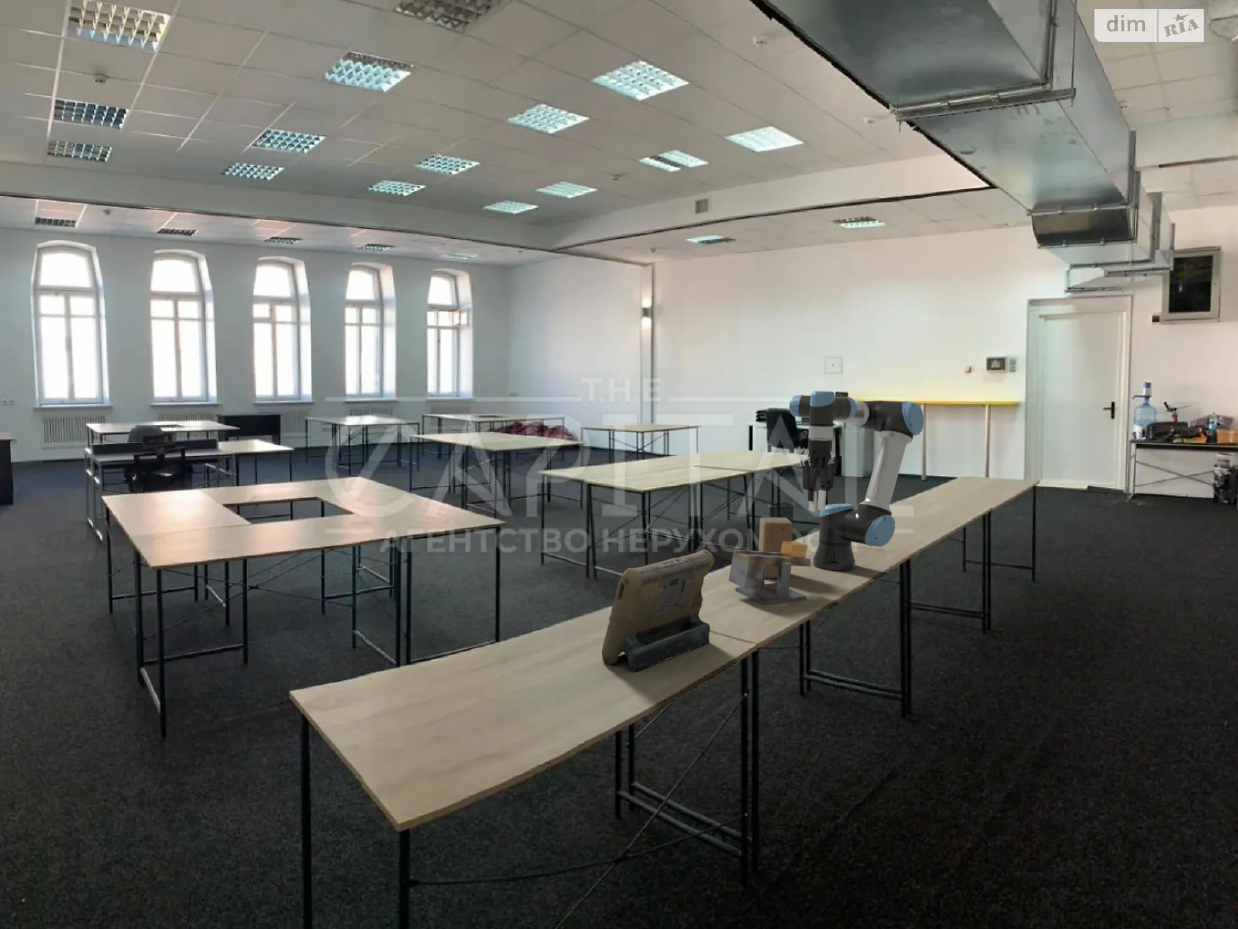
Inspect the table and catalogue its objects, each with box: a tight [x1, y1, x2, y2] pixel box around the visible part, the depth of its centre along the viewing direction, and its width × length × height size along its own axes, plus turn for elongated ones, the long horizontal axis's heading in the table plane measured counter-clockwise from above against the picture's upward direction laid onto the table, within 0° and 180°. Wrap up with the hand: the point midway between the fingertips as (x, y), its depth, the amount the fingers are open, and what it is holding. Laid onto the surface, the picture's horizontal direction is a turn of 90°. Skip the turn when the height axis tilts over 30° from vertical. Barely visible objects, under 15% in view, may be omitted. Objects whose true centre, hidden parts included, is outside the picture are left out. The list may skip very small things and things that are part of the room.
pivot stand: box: [735, 562, 807, 606], centre depth 243 cm, size 16×16×12 cm
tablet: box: [601, 549, 715, 672], centre depth 192 cm, size 33×14×25 cm, turn 141°
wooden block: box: [758, 516, 794, 579], centre depth 266 cm, size 10×10×20 cm
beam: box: [728, 549, 812, 589], centre depth 242 cm, size 24×9×10 cm, turn 115°
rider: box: [780, 541, 808, 558], centre depth 245 cm, size 6×5×5 cm
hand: (816, 510), depth 247 cm, fingers open, 3 cm apart
